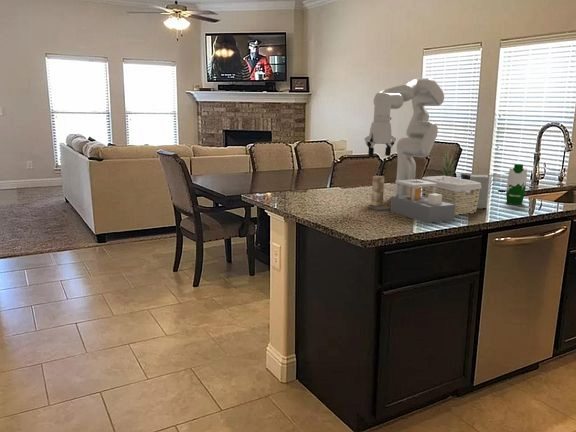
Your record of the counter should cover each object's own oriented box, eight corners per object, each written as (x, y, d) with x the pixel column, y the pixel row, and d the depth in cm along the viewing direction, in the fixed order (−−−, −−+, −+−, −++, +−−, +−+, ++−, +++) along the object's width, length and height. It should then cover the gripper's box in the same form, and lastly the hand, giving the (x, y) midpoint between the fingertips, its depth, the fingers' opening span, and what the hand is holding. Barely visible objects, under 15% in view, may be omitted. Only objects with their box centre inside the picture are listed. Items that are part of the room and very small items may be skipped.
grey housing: (390, 211, 234) (392, 180, 231) (414, 209, 240) (416, 178, 236) (428, 223, 211) (430, 188, 208) (453, 220, 217) (457, 187, 214)
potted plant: (436, 187, 306) (439, 146, 301) (452, 188, 305) (456, 147, 299) (438, 190, 296) (442, 147, 291) (455, 190, 295) (459, 148, 290)
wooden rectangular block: (378, 204, 251) (379, 175, 248) (382, 205, 247) (384, 177, 244) (371, 204, 249) (372, 176, 246) (375, 206, 246) (377, 177, 243)
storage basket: (480, 213, 233) (483, 181, 230) (454, 216, 225) (457, 183, 222) (442, 204, 254) (445, 175, 250) (417, 206, 246) (419, 176, 243)
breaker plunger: (406, 204, 230) (407, 186, 228) (415, 203, 232) (416, 186, 230) (413, 206, 226) (414, 188, 224) (422, 205, 228) (423, 188, 226)
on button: (427, 209, 218) (428, 193, 217) (434, 209, 220) (435, 193, 218) (433, 211, 215) (434, 195, 213) (440, 211, 216) (442, 194, 215)
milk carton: (504, 203, 258) (509, 164, 254) (505, 200, 266) (509, 162, 262) (523, 205, 255) (528, 165, 250) (523, 202, 263) (528, 163, 258)
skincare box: (485, 206, 249) (488, 174, 245) (486, 209, 242) (489, 176, 239) (467, 205, 251) (470, 173, 248) (467, 208, 245) (470, 175, 241)
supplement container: (478, 198, 273) (480, 175, 270) (457, 196, 276) (459, 174, 274) (478, 195, 283) (480, 173, 280) (458, 193, 286) (460, 172, 283)
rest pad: (381, 207, 243) (381, 206, 243) (389, 210, 237) (389, 208, 236) (368, 208, 240) (368, 207, 240) (377, 211, 234) (377, 209, 234)
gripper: (391, 119, 246) (389, 155, 250) (361, 119, 239) (359, 155, 242) (401, 120, 240) (398, 156, 243) (370, 119, 232) (368, 156, 236)
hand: (379, 155), depth 243 cm, fingers open, 9 cm apart
